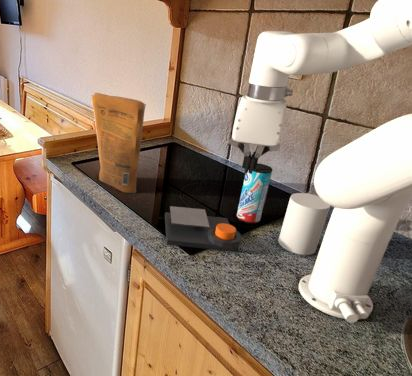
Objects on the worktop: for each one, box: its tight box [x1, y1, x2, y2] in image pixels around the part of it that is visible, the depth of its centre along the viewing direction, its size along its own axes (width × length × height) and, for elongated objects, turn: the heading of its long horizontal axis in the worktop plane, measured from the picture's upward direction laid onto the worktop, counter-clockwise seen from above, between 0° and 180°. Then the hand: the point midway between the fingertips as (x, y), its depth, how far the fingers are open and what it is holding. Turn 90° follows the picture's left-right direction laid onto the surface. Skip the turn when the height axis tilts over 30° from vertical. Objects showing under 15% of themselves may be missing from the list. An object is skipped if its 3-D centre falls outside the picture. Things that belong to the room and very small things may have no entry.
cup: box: [277, 192, 332, 256], centre depth 95 cm, size 8×8×12 cm
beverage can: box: [236, 162, 273, 225], centre depth 105 cm, size 6×6×15 cm
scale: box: [164, 211, 243, 253], centre depth 100 cm, size 15×17×3 cm
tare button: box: [215, 223, 237, 240], centre depth 95 cm, size 4×4×2 cm
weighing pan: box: [169, 205, 210, 228], centre depth 102 cm, size 9×9×1 cm
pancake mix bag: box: [90, 92, 147, 194], centre depth 120 cm, size 7×19×28 cm, turn 39°
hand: (248, 171), depth 95 cm, fingers closed
